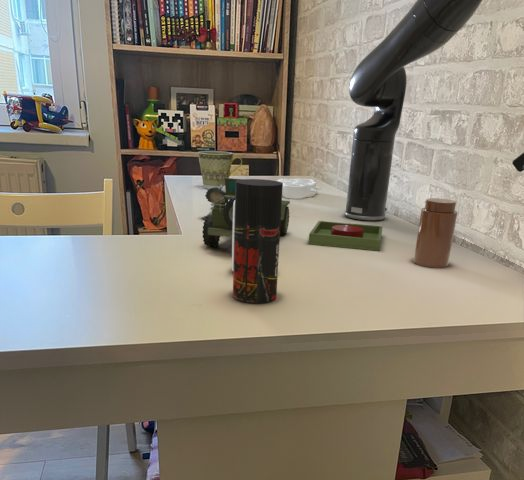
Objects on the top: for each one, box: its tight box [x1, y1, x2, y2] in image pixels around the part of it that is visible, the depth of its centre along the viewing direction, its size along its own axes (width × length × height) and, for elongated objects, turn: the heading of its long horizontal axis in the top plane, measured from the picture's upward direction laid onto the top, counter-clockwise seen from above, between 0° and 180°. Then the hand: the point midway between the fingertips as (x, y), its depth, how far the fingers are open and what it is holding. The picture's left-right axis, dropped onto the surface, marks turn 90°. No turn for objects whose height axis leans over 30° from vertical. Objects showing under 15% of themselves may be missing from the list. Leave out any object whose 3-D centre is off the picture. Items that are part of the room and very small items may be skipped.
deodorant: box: [232, 178, 283, 304], centre depth 73 cm, size 6×6×15 cm
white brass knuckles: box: [276, 178, 322, 200], centre depth 161 cm, size 3×18×15 cm
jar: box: [412, 197, 459, 269], centre depth 94 cm, size 6×6×11 cm
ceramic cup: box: [197, 150, 244, 190], centre depth 163 cm, size 13×10×10 cm
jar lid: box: [331, 225, 364, 238], centre depth 109 cm, size 6×6×2 cm
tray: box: [308, 220, 384, 252], centre depth 110 cm, size 13×13×2 cm
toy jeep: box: [202, 177, 291, 248], centre depth 103 cm, size 12×25×11 cm, turn 168°
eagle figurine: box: [200, 187, 226, 220], centre depth 122 cm, size 8×7×9 cm
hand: (520, 170), depth 88 cm, fingers open, 8 cm apart
